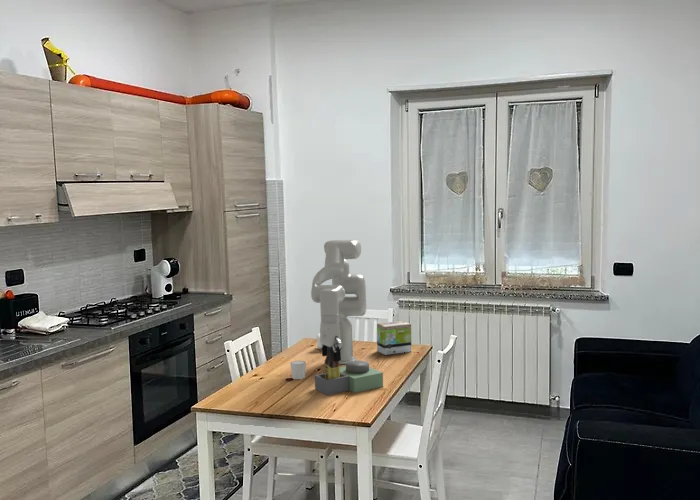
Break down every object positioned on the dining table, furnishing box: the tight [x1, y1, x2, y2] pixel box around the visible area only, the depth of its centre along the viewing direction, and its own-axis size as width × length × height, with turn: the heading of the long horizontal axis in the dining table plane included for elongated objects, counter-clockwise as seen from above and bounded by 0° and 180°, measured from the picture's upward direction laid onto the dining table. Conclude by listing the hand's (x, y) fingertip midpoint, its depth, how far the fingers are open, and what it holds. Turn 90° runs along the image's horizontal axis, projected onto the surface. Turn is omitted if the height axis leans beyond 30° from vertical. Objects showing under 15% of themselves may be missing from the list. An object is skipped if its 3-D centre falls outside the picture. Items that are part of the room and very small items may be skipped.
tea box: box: [376, 320, 412, 356], centre depth 328 cm, size 15×10×15 cm
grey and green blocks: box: [314, 360, 384, 396], centre depth 273 cm, size 18×25×9 cm
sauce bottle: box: [324, 344, 341, 380], centre depth 268 cm, size 6×6×20 cm
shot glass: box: [289, 360, 307, 380], centre depth 288 cm, size 7×7×7 cm
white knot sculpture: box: [316, 332, 322, 350], centre depth 337 cm, size 11×12×9 cm
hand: (331, 358), depth 269 cm, fingers open, 9 cm apart
